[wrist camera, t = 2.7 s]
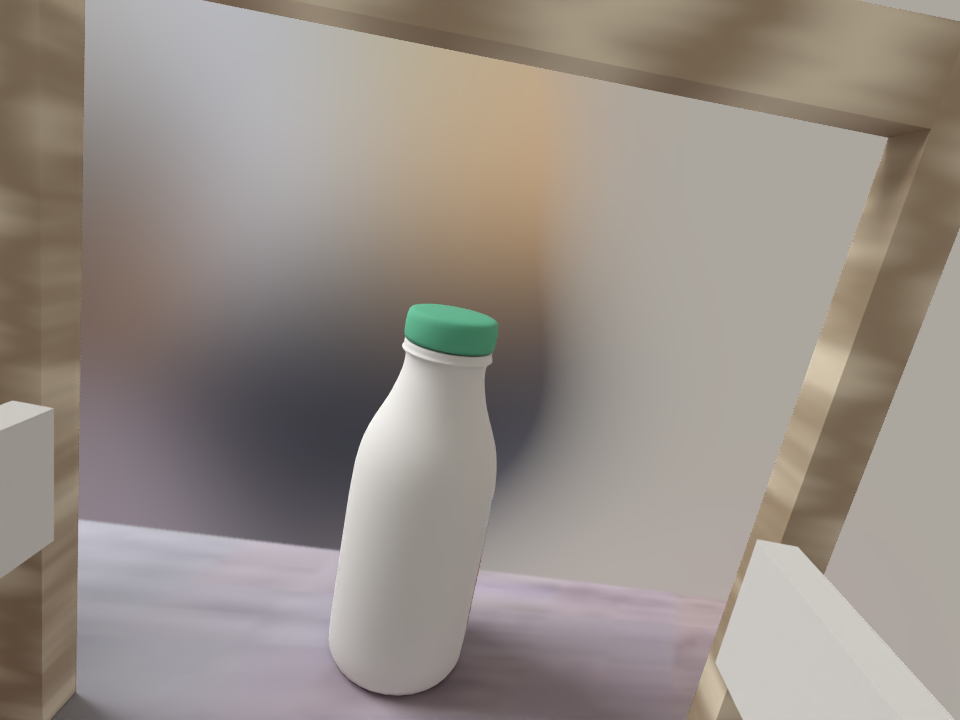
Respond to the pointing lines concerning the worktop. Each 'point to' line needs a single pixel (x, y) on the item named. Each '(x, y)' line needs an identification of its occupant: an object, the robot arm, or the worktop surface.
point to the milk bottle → (418, 510)
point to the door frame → (560, 47)
